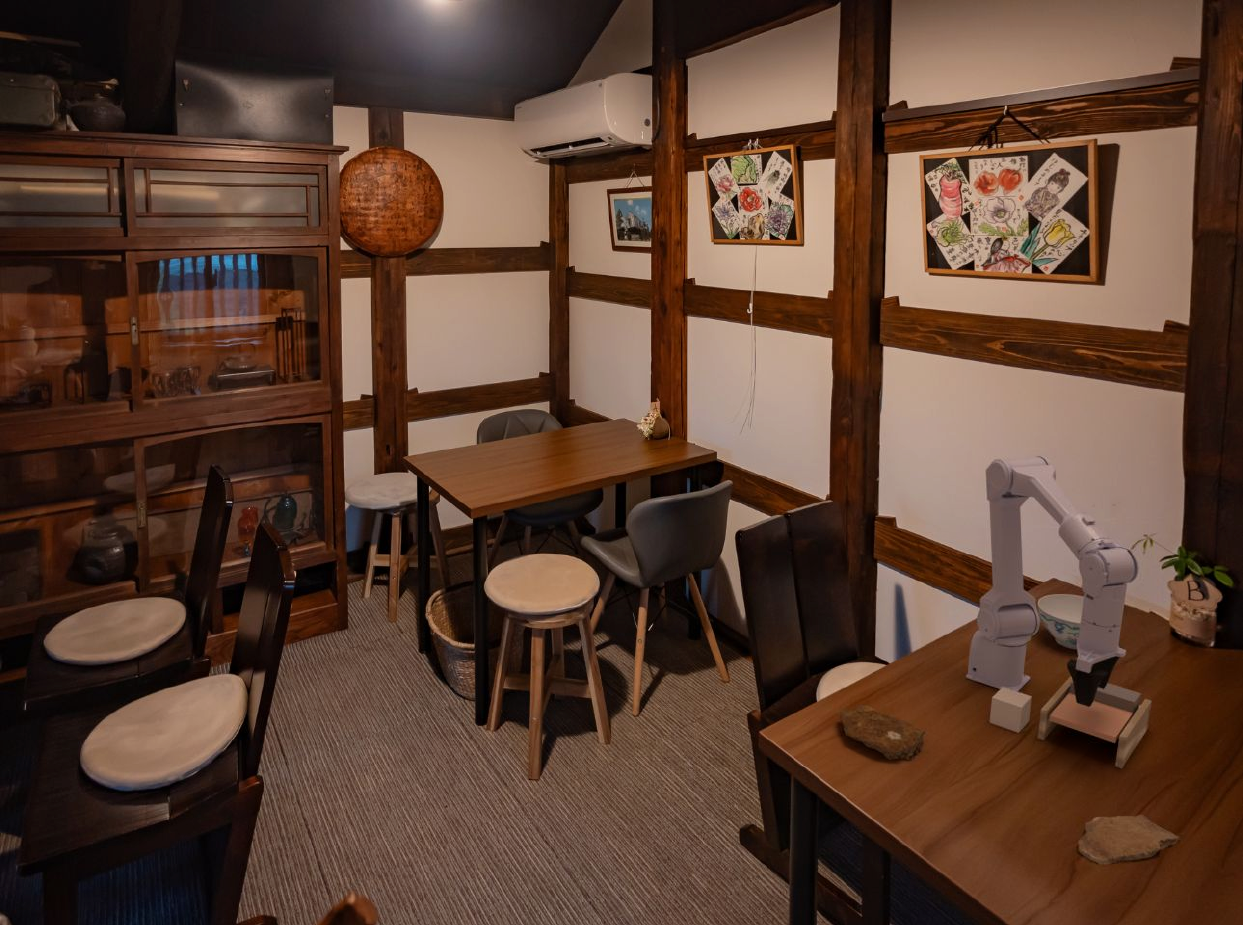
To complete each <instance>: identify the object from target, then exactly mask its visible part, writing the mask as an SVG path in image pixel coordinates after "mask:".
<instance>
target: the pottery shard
mask: <svg viewBox="0 0 1243 925" xmlns="http://www.w3.org/2000/svg"><path fill="white" fill-rule="evenodd" d="M1084 825H1085V826H1084V832H1085V833H1084V834H1083V836H1082V837H1080V838H1079V840H1078V841H1077V845H1078V847H1077V849H1078V852H1079V853H1080V854H1081V855H1083V857H1085V858H1087V859H1088V860H1090V861H1091V862H1094V863H1097V864H1098V865H1099V866H1107V865H1110V864H1114V863H1122V862H1125V861H1134V860H1135V861H1136V860H1142V859H1146V858H1151V857H1154V856H1155V855H1156V854H1157V852H1159V851H1161V850H1164V849H1165V848H1168V847H1169V846H1174V845H1176V844H1177V843H1178V842H1179V841H1180V839H1181V838H1180V836H1178V835H1177V834H1176V833H1175V834H1174V833H1173V832H1170V831H1169V830H1167V829H1165V828H1163V827H1161V826H1159V825H1158V824H1156V823H1155V822H1153V821H1151V820H1150V819H1148V818H1147V817H1146V816H1145V815H1143V814H1139V815H1136V816H1133V815H1124V816H1122V815H1117V816H1111V817H1110V816H1109V817H1108V816H1097V817H1093V818H1092V819H1091V820H1090V821H1087V822H1084Z"/></svg>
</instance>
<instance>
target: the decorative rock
mask: <svg viewBox="0 0 1243 925" xmlns="http://www.w3.org/2000/svg"><path fill="white" fill-rule="evenodd" d="M837 715H838V716H839V718H840V719H841V723H842V725H843V726H844V728H843V731H844V732H845V736H846V737H849V738H851V739H854V740H856V741H857V742H862V743H863V744H864V746H865V747H867V748H870V749H874V750H875V751H877V752H879V753H880V754H882V756H884V757H885V758H886V759H888V761H891V760H894V759H895V760H901V759H905V760H907V761H914V755H915V754H916V755H915V756H917V755H918V753H919V747H920V748H921V746H922V745H923V743H924V735H925V733H926V730H924V729H918V728H917V727H916V726H915V725H914V724H912V723H909V721H908V722H907V721H905V720H903V719H899V718H898V717H892V716H889V715H887V714H884V713H879V712H877V711H875V709H874V708H873V707H871V706H868V705H866V704H858V705H857V706H855V707H854V708H852V707H851V708H849V707H847V708H842V709H841V711H840V712H839V713H838V714H837Z"/></svg>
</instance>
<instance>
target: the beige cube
mask: <svg viewBox="0 0 1243 925" xmlns="http://www.w3.org/2000/svg"><path fill="white" fill-rule="evenodd" d="M1032 698H1033V696H1032V695H1029V694H1026V693H1022V692H1020V691H1018V692H1017V691H1014V690H1011V689H1008V688H1005V687H1002V688H1001V689H999V690H998V691H997V692H996V693H995V694H994V695H993V696H992V697H991V706H990V716H989V723H990V724H993V725H995V726H998V727H1000V728H1003V729H1007V730H1008V731H1012V732H1015V733H1017V734H1020V732H1021V731H1022V730H1023V729H1024V728H1025V726H1026V725H1027V724H1028V723H1029V722H1030V715H1031V707H1032V700H1033V699H1032Z"/></svg>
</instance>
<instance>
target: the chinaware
mask: <svg viewBox="0 0 1243 925" xmlns="http://www.w3.org/2000/svg"><path fill="white" fill-rule="evenodd" d="M1083 601H1084V595H1083V596H1081V595H1077V594H1068V593H1067V594H1065V593H1060V594H1058V593H1057V594H1055V593H1054V594H1049V595H1045V596H1042V597H1040V598H1039V599H1038V601H1037V612H1038V614H1039V618H1040V622H1041V623H1042V625H1043V626H1044V628H1045V629H1046V630H1047V631H1048V633H1049V634H1051V636H1053V637H1054V638H1055V641H1056V643H1057V644H1059V645H1061V646H1063V647H1065V648H1068V649H1072V650H1077V645H1076V644H1077V640H1078V639H1079V631H1080V624H1081V616H1082V609H1083Z"/></svg>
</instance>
